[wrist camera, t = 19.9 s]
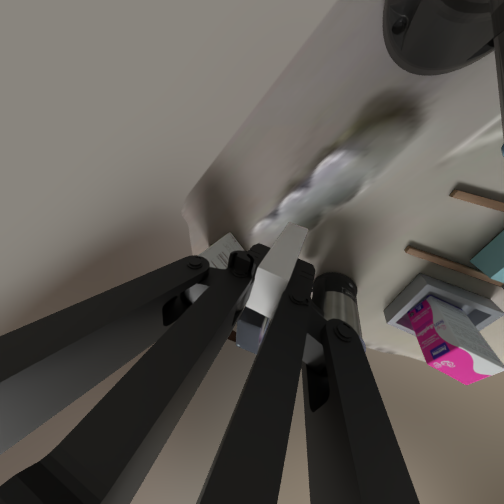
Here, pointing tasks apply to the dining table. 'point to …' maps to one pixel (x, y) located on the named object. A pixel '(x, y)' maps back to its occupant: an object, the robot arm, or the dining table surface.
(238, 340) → the small box
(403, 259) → the dining table surface
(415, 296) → the tray
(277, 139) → the dining table surface
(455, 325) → the supplement box
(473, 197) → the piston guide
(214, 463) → the robot arm
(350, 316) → the milk frother
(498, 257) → the block
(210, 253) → the supplement box
